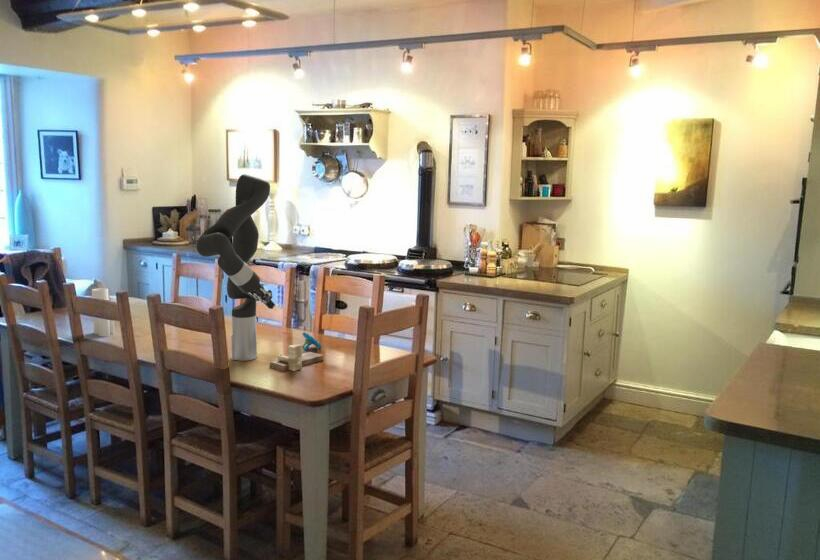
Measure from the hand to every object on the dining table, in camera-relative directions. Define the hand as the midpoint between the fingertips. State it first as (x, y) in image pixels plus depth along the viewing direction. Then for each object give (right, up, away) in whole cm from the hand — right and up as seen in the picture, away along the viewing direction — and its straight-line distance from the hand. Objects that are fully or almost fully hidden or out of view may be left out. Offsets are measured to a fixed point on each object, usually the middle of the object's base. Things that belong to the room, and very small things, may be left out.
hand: (272, 306), depth 235 cm
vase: (-89, -15, +63) cm, 110 cm away
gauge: (+3, -23, +14) cm, 27 cm away
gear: (+8, -20, +42) cm, 47 cm away
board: (+5, -23, +20) cm, 31 cm away
